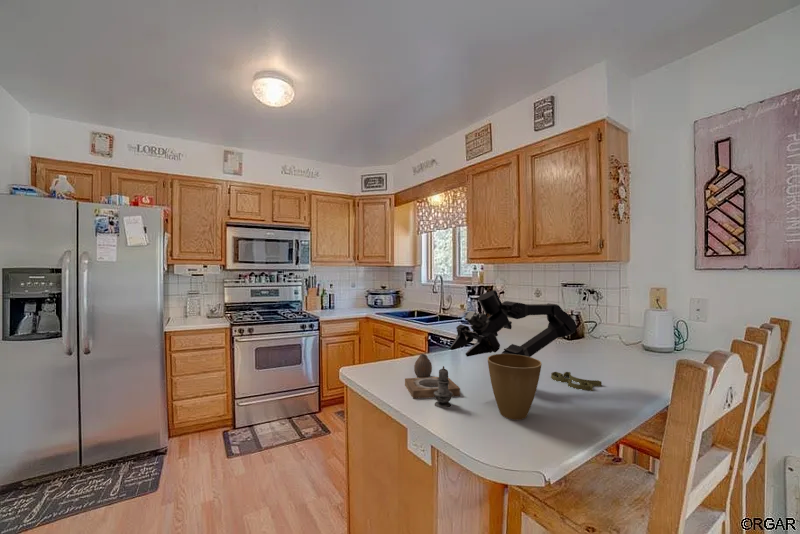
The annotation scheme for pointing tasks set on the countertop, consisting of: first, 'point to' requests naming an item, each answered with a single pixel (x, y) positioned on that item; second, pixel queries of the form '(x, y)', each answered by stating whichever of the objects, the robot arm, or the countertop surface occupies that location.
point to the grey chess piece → (443, 390)
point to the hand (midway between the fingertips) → (458, 352)
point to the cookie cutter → (583, 383)
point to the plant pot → (514, 383)
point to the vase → (423, 366)
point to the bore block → (420, 391)
